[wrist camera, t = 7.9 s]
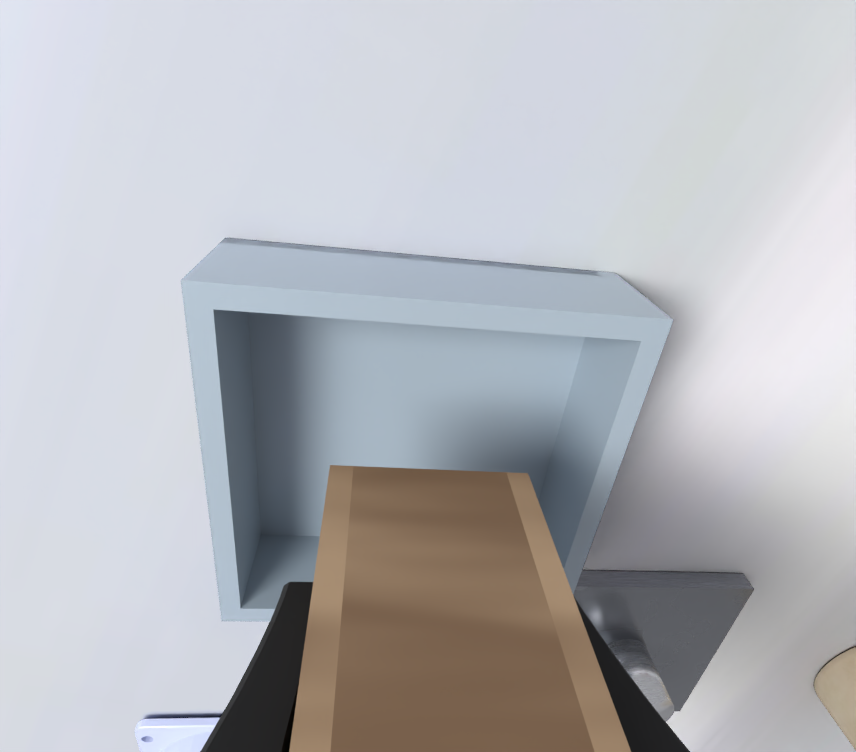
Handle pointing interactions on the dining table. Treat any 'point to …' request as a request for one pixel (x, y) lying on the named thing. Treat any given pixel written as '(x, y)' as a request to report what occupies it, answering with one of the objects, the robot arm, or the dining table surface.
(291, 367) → the bin
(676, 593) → the base
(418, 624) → the brown block
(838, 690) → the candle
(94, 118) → the dining table surface
